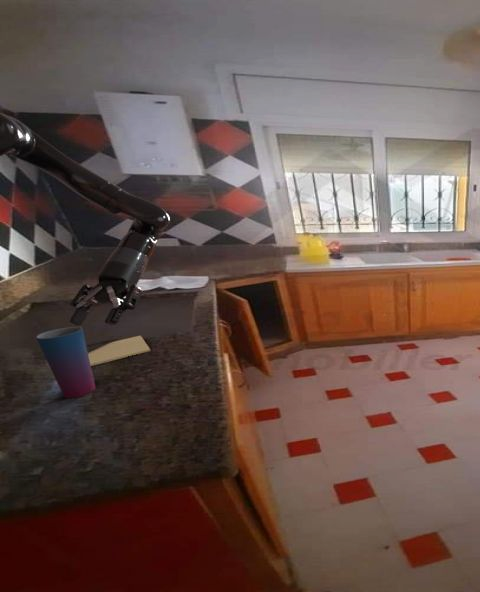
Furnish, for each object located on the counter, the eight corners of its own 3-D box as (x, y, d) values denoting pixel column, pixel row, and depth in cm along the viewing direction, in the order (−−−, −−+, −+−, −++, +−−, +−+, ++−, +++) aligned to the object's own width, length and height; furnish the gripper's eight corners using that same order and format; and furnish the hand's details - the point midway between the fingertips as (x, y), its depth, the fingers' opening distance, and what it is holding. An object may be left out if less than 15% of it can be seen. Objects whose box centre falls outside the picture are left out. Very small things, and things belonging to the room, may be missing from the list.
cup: (54, 404, 69) (30, 341, 64) (63, 390, 74) (42, 331, 70) (97, 394, 72) (77, 333, 68) (103, 381, 78) (85, 324, 74)
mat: (71, 371, 83) (71, 369, 82) (70, 353, 93) (69, 351, 93) (150, 350, 94) (150, 349, 94) (141, 337, 104) (140, 335, 104)
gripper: (85, 260, 81) (47, 317, 73) (139, 260, 80) (107, 317, 72) (111, 275, 87) (78, 330, 79) (161, 275, 87) (134, 330, 79)
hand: (92, 323), depth 76 cm, fingers open, 8 cm apart
